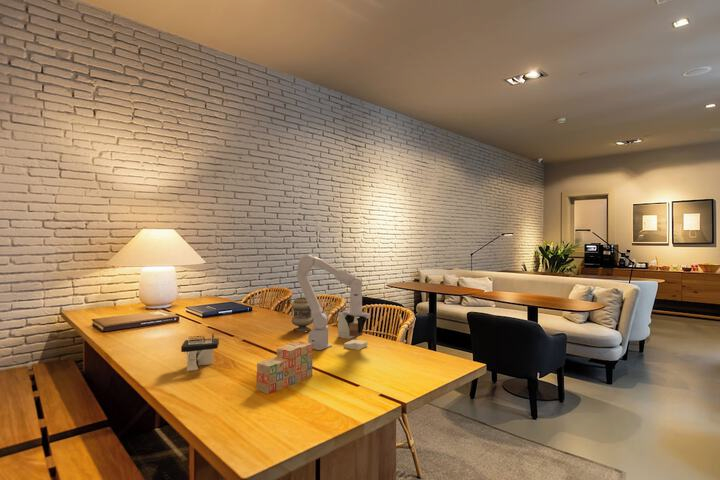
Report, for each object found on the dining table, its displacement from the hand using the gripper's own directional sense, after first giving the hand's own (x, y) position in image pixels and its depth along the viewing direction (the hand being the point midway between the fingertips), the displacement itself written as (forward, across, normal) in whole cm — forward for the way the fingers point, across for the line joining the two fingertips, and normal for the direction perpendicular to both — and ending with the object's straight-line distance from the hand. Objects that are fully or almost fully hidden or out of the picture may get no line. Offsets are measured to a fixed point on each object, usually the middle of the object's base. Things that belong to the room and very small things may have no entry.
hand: (355, 331), depth 187 cm
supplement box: (+7, +14, -14) cm, 21 cm away
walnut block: (+2, 0, 0) cm, 2 cm away
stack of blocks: (+7, -4, +53) cm, 53 cm away
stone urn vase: (+7, +43, -12) cm, 45 cm away
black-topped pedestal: (+8, +35, +59) cm, 69 cm away
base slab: (+7, 0, 0) cm, 7 cm away
